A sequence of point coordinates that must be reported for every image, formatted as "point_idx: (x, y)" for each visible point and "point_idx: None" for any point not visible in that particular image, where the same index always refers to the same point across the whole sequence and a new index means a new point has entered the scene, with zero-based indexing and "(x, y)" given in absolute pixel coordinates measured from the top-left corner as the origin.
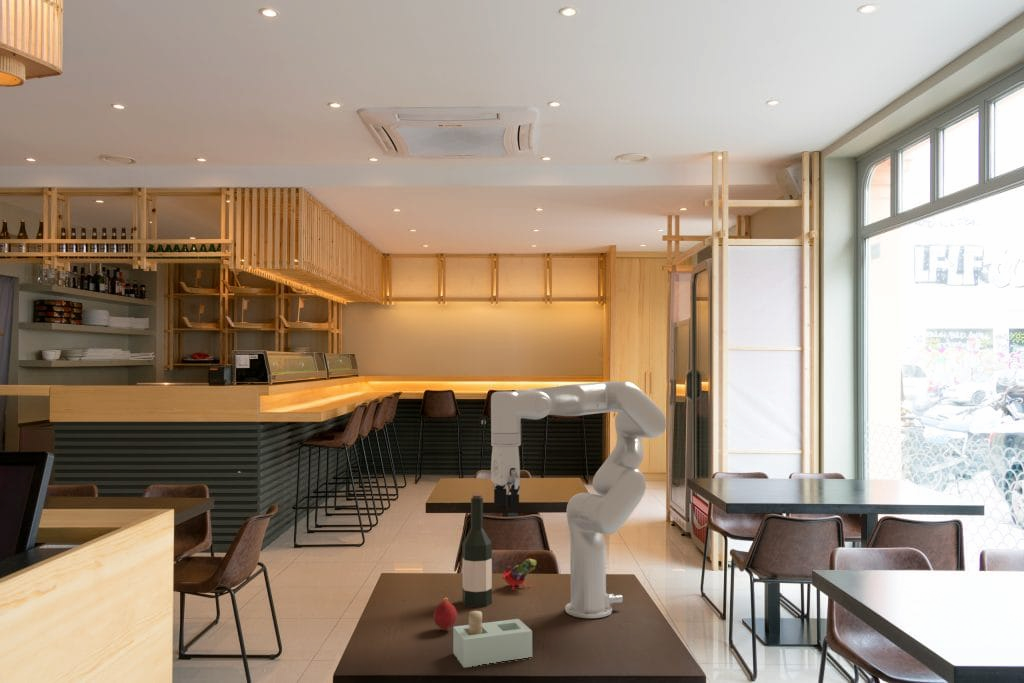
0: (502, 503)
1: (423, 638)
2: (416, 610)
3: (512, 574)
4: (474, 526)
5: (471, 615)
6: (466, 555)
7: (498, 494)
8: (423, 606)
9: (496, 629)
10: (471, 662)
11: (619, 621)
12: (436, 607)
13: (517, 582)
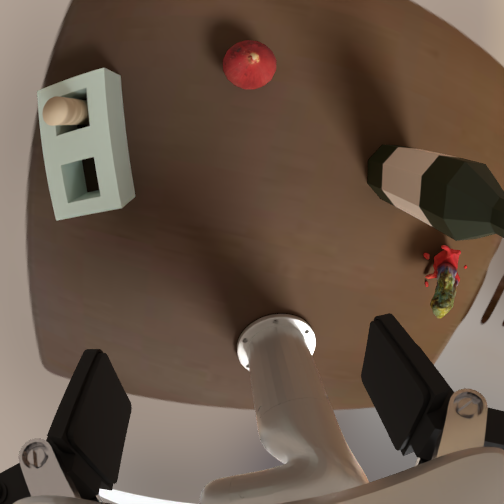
0: (365, 362)
1: (213, 28)
2: (380, 51)
3: (444, 265)
4: (501, 205)
5: (47, 102)
6: (444, 159)
7: (399, 387)
8: (398, 70)
9: (69, 153)
10: None
11: (218, 370)
12: (254, 42)
13: (434, 267)
